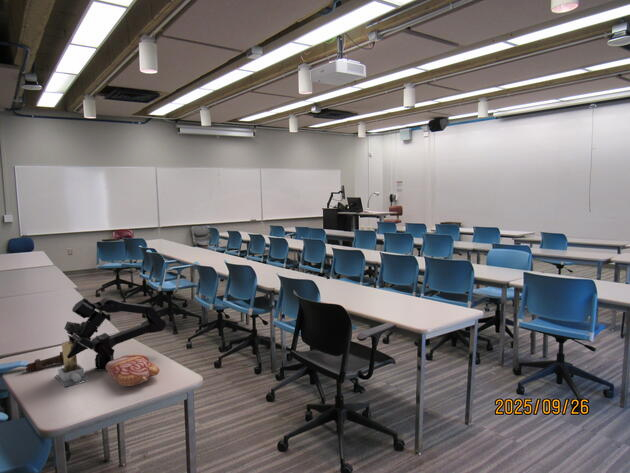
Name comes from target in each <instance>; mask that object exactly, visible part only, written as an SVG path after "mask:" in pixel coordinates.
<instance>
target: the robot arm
mask: <svg viewBox="0 0 630 473" xmlns="http://www.w3.org/2000/svg"><path fill="white" fill-rule="evenodd" d="M71 311H72V312H73V313H75V314H76V315H77V316H79V317H81V318H83V319H86V318H87V319H86V321H82V322H81V323H79V322H78V323H77V322H71V321H66V324H65V326H64V330H65V331H66V333H67V334H68V335H67V336H68V341H74V346H73V348H72V349H71V351H70V353H69V354H68V356H67V358H71V357H73V356H75V355H78V354H81V353H82V352H84V351H85V350H88V349H90V350H91V351H94V353H95V358H94V364H95V369H94V371H107V370H106V364H107V363H108V362H110V361H111V360H114V354H115V350H116V349H114V347H115V346H116V345H118V344H121V343H124V342H126V341H129V340H132V339H134V338H137V337H140V336H143V335H146V334H152V333H159V332H163V331H164V330H165V328H166V325H167V324H166V320H164V319H162V317H161V316H160V315H159V313H158V312H157V311H156V310H155V307H153V306H152V305H149V304H146V305H145V304H144V305H143V304H137V303H130V302H123V301H119V300H117V299H114V298H110V297H103V298H102V299H101V300H100V301H97V302H94V303H92V302H90V301H89V300H88V299H86V298H85V297H83V298H82V299H81V300H79V301H77V302H76V303H75V304H74V306H73V307H72V310H71ZM120 312H123V313H125V312H126V313H133V314H142V315H144V316H145V318H146V320H145V321H144V322H143V323H142V324H140V325H137V326H134V327H131V328H129V329H126V330H122V331H120V332H117V333H114V334H111V335H109V334H108V333H106V332H104V333H102V334H100V335H95V337H93V335H94V334H95V333H96V334H97V333H98V332H99V330H98V329H99V328H100V327H101V325H102V324H103V323H104V322H105V321H106V320H107V321H109V322H110V321H111V320H112V319H111V314H115V313H120ZM91 337H93V338H91Z"/></svg>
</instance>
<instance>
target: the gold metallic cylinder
mask: <svg viewBox="0 0 630 473" xmlns="http://www.w3.org/2000/svg"><path fill="white" fill-rule="evenodd" d="M73 346H74V341H69V340H67V341H63V342H62V343H61V348H62V349H61V352H63V360H64V364H63V367H64V370H65V373H68V372H71V371H75V370H78V365H77V364H78V356H77V355H78V354H76V355H75V356H73V357H71V358H67V356H68V354H69V353H70V351H71V349H72V348H73Z"/></svg>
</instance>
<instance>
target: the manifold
mask: <svg viewBox="0 0 630 473" xmlns="http://www.w3.org/2000/svg"><path fill="white" fill-rule="evenodd" d="M77 365H78V370H75V371H71V372H68V373H65V370H64V366H63V367H61V368H58V370H57V371H58V373H57V374H55V377H56V376H57V377H58V378H57V377H56V378H57V380H58V381H59V380H60V381H61V382H62V383H63V384H64V385H63V384H62V383H61V382H60V381H59V382H60V383H61V384H62V385H63V386H64V387H65V388H67V387H66V386H69V385H72V386H74V385H73V384H76V383H79V382H82V381H86V380H89V381H91V378H90V377H89V376H88V375H87V374H85V371H84V367H83V366H82V365H81V364H79V363H77ZM86 382H87V381H86ZM82 383H83V382H82ZM79 384H80V383H79ZM76 385H77V384H76ZM69 387H70V386H69Z"/></svg>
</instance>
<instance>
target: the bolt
mask: <svg viewBox="0 0 630 473" xmlns="http://www.w3.org/2000/svg"><path fill="white" fill-rule="evenodd" d="M60 363H61V364H62V365H64V360H63V351H60V352H59V355H58V354H57V355H55V356H52V357H48V358H45V359H40V358H38V359H35V360H34V361H33V362H31V363H28V364H26V365H25V371H26V372H31V371H34V370H36V371H40V369H41V370H42V368H44V367H49V366H51V365H52V366H53V365H55V364H60Z"/></svg>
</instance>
